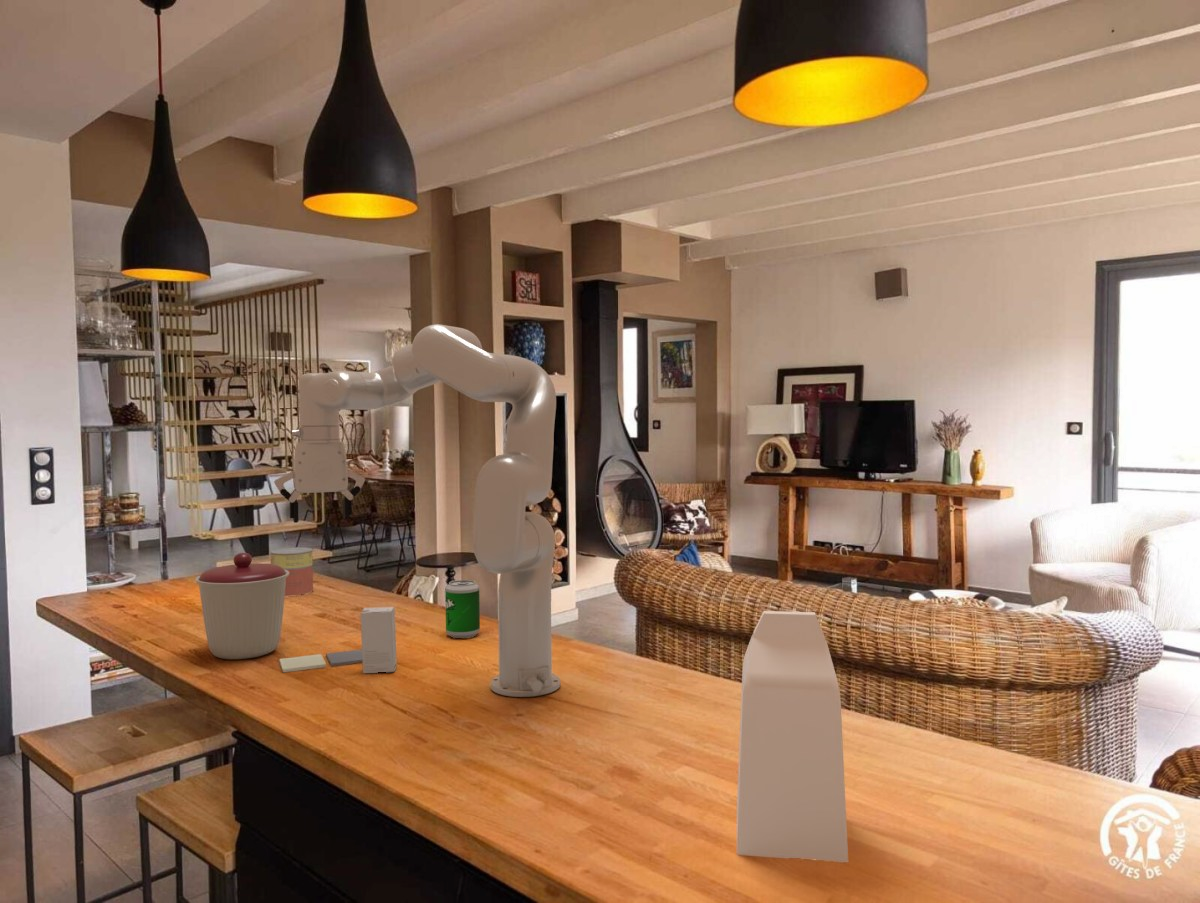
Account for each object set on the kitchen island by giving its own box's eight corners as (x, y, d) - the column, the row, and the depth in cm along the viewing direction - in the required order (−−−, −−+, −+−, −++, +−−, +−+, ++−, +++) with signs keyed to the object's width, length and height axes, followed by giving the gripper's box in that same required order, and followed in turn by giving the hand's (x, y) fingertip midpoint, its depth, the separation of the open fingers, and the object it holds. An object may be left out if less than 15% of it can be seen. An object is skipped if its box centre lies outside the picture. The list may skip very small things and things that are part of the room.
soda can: (483, 631, 196) (482, 579, 195) (475, 640, 188) (474, 585, 188) (451, 631, 197) (450, 579, 196) (441, 639, 189) (441, 585, 189)
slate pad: (372, 661, 172) (372, 658, 172) (331, 666, 169) (331, 663, 169) (365, 651, 180) (365, 648, 180) (326, 656, 176) (326, 653, 176)
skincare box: (397, 666, 169) (396, 605, 168) (394, 673, 164) (393, 610, 164) (365, 667, 168) (364, 606, 168) (361, 674, 164) (360, 611, 163)
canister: (211, 671, 166) (208, 563, 166) (186, 652, 180) (184, 552, 179) (303, 654, 178) (301, 553, 177) (273, 637, 192) (271, 543, 191)
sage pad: (326, 667, 169) (326, 664, 169) (282, 672, 165) (282, 669, 165) (321, 656, 176) (321, 654, 176) (279, 661, 173) (279, 658, 172)
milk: (736, 854, 96) (736, 623, 94) (736, 808, 107) (736, 600, 106) (848, 862, 94) (849, 626, 93) (836, 814, 105) (837, 603, 104)
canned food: (318, 588, 248) (317, 546, 247) (307, 596, 236) (306, 553, 236) (278, 589, 247) (277, 547, 246) (265, 597, 236) (264, 553, 235)
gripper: (274, 436, 164) (276, 525, 165) (367, 435, 172) (368, 520, 172) (272, 435, 171) (273, 520, 172) (361, 434, 178) (362, 516, 179)
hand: (321, 520), depth 172 cm, fingers open, 9 cm apart
